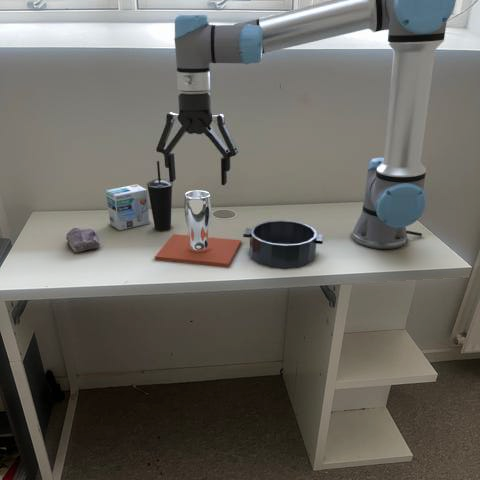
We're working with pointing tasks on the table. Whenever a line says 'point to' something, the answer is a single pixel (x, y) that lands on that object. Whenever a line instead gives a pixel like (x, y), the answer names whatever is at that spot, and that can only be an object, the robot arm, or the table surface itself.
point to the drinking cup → (160, 201)
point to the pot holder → (215, 256)
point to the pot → (283, 254)
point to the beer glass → (198, 220)
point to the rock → (82, 239)
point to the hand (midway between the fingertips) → (198, 182)
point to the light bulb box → (128, 206)
